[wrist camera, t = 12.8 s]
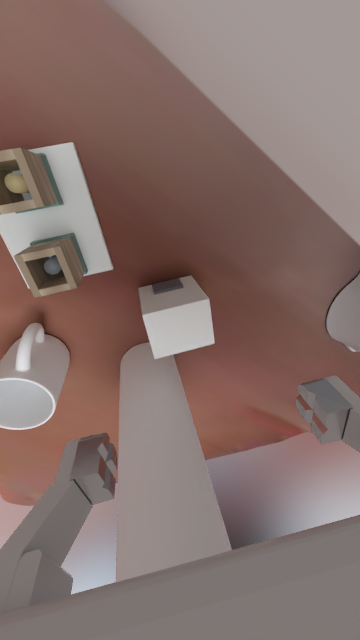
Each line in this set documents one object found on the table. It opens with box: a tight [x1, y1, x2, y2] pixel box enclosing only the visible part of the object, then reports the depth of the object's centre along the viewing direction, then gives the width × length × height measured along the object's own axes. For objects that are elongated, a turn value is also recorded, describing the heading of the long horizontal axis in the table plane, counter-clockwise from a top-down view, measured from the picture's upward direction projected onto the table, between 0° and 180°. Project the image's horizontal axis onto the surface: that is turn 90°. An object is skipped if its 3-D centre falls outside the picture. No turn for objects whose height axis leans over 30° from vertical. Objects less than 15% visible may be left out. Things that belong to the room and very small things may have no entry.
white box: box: [138, 275, 215, 359], centre depth 34 cm, size 8×7×9 cm
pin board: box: [0, 142, 113, 288], centre depth 27 cm, size 11×14×6 cm
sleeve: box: [0, 147, 64, 215], centre depth 24 cm, size 5×5×7 cm
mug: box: [0, 323, 70, 430], centre depth 33 cm, size 12×8×10 cm
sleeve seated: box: [14, 233, 88, 298], centre depth 28 cm, size 5×5×7 cm
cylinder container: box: [116, 343, 232, 582], centre depth 30 cm, size 9×9×30 cm
